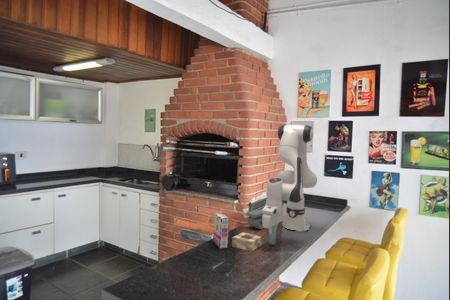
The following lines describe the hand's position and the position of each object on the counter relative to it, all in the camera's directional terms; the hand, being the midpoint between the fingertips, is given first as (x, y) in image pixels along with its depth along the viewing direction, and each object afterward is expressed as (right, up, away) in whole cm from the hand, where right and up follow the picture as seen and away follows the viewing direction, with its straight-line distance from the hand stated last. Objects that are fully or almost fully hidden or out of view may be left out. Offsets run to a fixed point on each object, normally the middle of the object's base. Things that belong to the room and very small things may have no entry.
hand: (272, 232), depth 165 cm
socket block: (-15, -7, -2) cm, 16 cm away
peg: (0, -6, 0) cm, 6 cm away
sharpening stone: (-2, -7, +36) cm, 37 cm away
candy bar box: (-29, -7, -2) cm, 30 cm away
